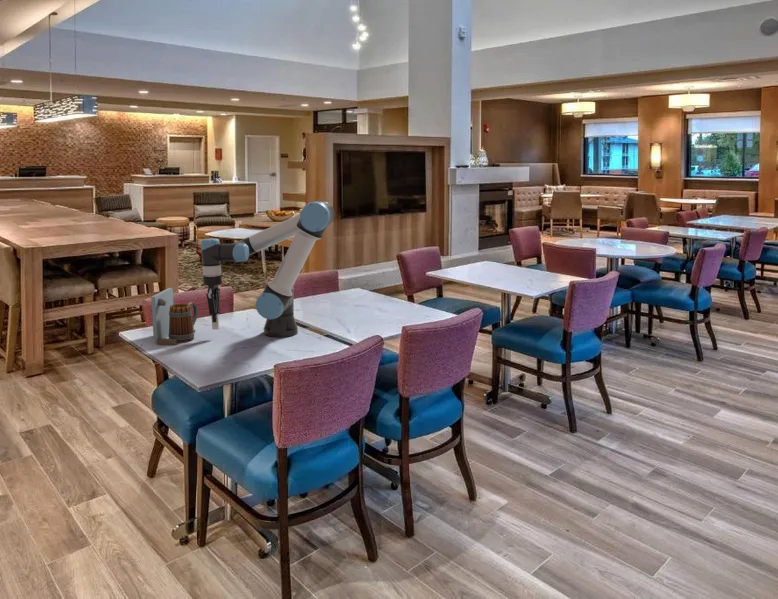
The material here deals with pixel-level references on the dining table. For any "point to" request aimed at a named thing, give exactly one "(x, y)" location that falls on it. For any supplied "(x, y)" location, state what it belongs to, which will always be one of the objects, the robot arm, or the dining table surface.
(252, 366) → the dining table surface
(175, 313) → the mug
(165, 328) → the door
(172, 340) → the tan support feet
